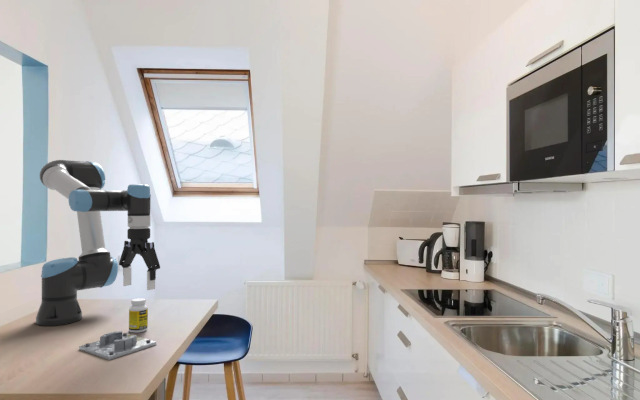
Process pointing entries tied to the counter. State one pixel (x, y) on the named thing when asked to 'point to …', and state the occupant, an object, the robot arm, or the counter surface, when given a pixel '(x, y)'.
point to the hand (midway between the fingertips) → (138, 287)
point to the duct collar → (116, 345)
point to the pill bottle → (138, 316)
